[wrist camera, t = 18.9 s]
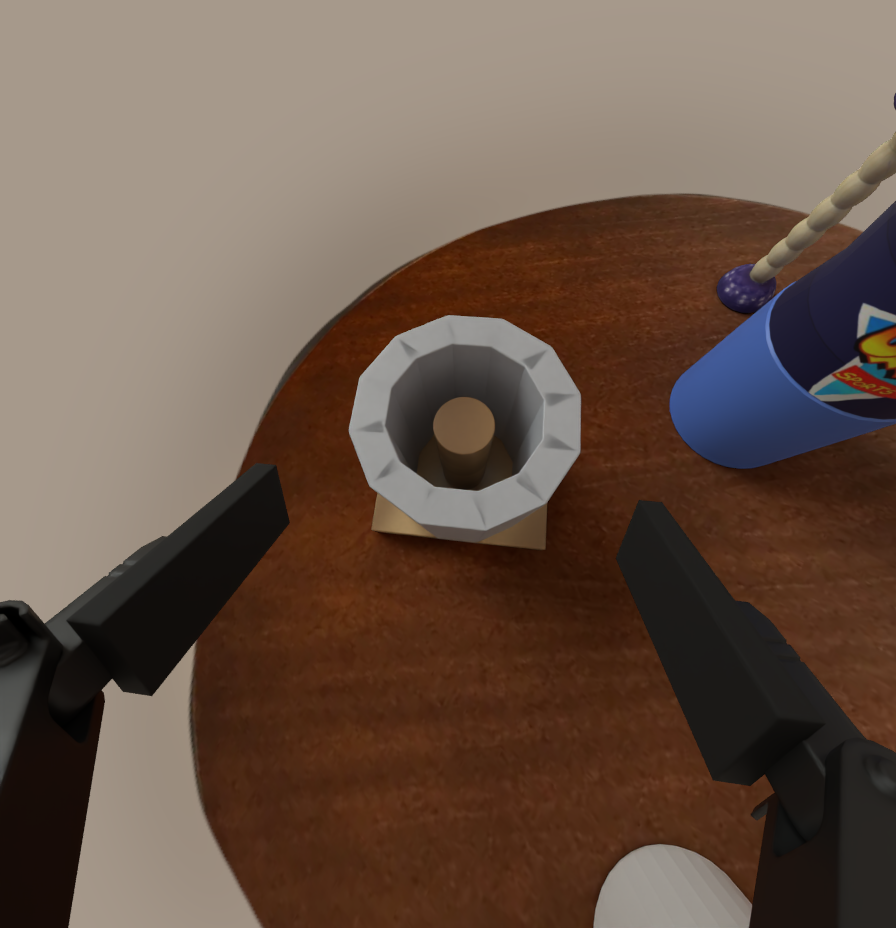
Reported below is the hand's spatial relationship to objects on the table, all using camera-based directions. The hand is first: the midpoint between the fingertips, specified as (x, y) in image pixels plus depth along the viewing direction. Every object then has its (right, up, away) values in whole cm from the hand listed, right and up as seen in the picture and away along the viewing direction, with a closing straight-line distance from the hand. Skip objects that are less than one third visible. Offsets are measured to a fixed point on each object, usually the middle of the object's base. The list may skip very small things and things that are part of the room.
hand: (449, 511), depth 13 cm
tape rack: (+1, +1, +13) cm, 13 cm away
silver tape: (+1, +1, +12) cm, 12 cm away
